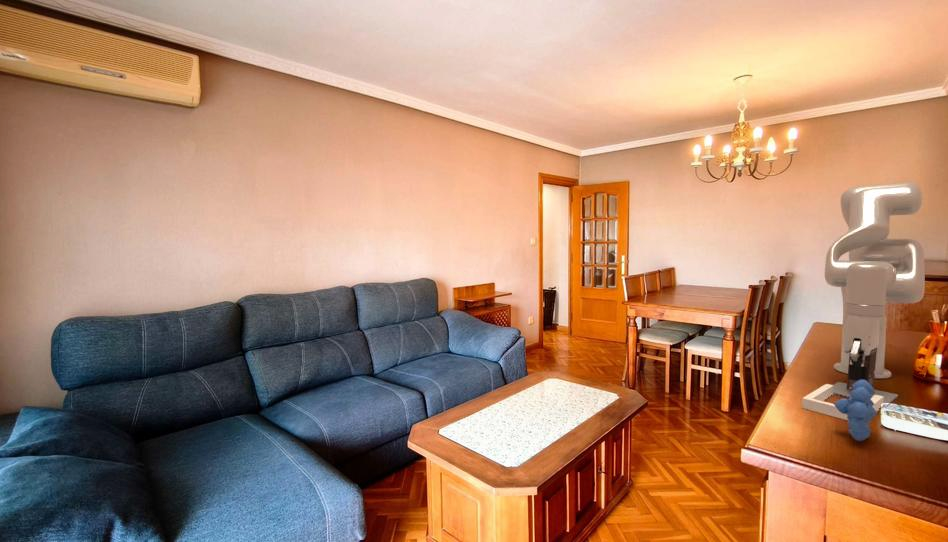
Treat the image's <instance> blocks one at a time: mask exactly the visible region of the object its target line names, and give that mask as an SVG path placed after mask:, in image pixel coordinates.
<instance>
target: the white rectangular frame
mask: <svg viewBox="0 0 948 542" xmlns="http://www.w3.org/2000/svg"><path fill="white" fill-rule="evenodd" d="M833 388H834V384H829V383H825V384H823V385H822V386H820V387H819V388H816V389H815V390H813V391H812V392H809V394H806V395H805V396H803V397H802V399H801V409H804V410H807V409H808V411H812V412H816V413H819V414H822V415H827V416H830V417H834V418H836V419H837V418H838V419H841V420H844V421H847V422H848V421H849V420H848V418H847V417H848V416H847V414H843V413H841V412H839V410H838V409H837V408H836V407H835V405H834V403H832V402H826V401H825V399H826V400H827V399H829V398H830V397H832V396H834V394H833ZM831 395H832V396H831ZM828 397H829V398H828ZM883 399H884V396H879V395H874V396H873V397H872V398H871V400H872V401H873V403H874V405H873V406H872V407H873V408H874V409H875V410H876V412H877V413H878V412H879V411H880V409H879V408H880V406H881V404H882V403H883Z"/></svg>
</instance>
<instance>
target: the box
mask: <svg viewBox="0 0 948 542" xmlns="http://www.w3.org/2000/svg"><path fill="white" fill-rule="evenodd" d="M850 350H852V347H851V349H850ZM850 353H851V351H850ZM863 353H864V352H859V354H863ZM876 354H877V347H876V348H875V349H873V350H871V352H870V355H868V356H866V363H865V367H867V372H866V381H867V382H868V383H869V384H870V385H871V386H872V387H873V389H875V386H874V385H875V378H874V377H875V365H876ZM850 358H851V356H850V354H849V366H850ZM860 358H861V361H862V357H860ZM849 366H848V374H847V379H846V384H847V390H849V391H852V390H854V389H853V386H852V385H853V384H854V383H855V382H857V381H856V380H851V379H849Z"/></svg>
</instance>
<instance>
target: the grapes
mask: <svg viewBox="0 0 948 542" xmlns="http://www.w3.org/2000/svg"><path fill="white" fill-rule="evenodd" d="M852 386H853V389H854V390H852V391H851V392H850V394H851V395H850V396H849V398H846V397H844V398H840V399H838V400H836V401H835V402H834V403H833V404H834V405H835V407H836V408H837V409H838V410H839V412H841V413H843V414H847V416H848V417H847V418H848V420H849V421H848V420H847V422H846V423H847V425H848V426H849V428H848V429H847V432H848V433H849V434H850V435H851V437H852V438H853V440H855V441H858V442H862V441H865V440H866V439H868V438H869V437H870V436H871V433H872V430H871V429H870V426H869V424H870V423H871V422H872V421H873V420H874V419H873V417H875V416H876V415H878V411H877V412H876V410H875V409H874V408H873V407H872V406H873V405H874V403H873V401H872V400H871V398H872V396H871V395H872V394H874V393H875V392H874V391H873V390H875V388H873V387H872V386H871V385H870V384H869V383H868V382H867V381H866V380H859V381H857V382H855V383H854V384H853V385H852Z"/></svg>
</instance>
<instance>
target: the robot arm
mask: <svg viewBox="0 0 948 542" xmlns="http://www.w3.org/2000/svg"><path fill="white" fill-rule="evenodd" d="M922 201H923V194H922V191H921V188H920V186H919V185H918V184H917V183H916V182H911V181H910V182H909V181H908V182H897V183H896V182H895V183H884V184H871V185H862V186H855V187H851V188H848V189H846V190H844V191H843V193H842V194H841V197H840V208H841V214H842V217H843V219H844V221H845V223H846V225H847V227H848V231H847V232H845V233H844V234H843V235H841V236H839V238H837V239H836V240H834V242H833V243H832V244H831V246H830V247H829V248H828V250H827V253H826V257H825V264H824V280H825V281H826V283H827V284H828V285H830V286H831V287H834V288H835V287H836V288H840V289H841V297H842V298H841V299H842V330H841V331H842V333H841V353H840V362H836V363H835V364H833V368H834V369H835V370H836V371H838V372H840V373H843V374H847V375H848V366H849V354H850V356H851V358H850V366H849V379H851V380H856V381H859V380H866V372H867V367H865V363H866V356H868V355H870V352H871V350H873V349H875V348H876V347H877V354H876V365H875V377H874V379H889V378H891V377H892V372H891V371H890V370H888V369H886V368H885V355H886V354H885V352H886V338H887V337H886V336H887V335H886V334H887V333H886V332H887V316H886V305H887V304H886V303H894V304H895V303H896V304H901V303H902V304H914V303H919V302H920V301H922V299H923V298H924V296H925V292H926V291H925V290H926V283H925V281H926V279H925V278H926V277H925V253H924V247H923V244H922V243H920V242H919V240H917V239H912V238H888V237H889V235H890V229H891V225H890V222H891V220H890V219H891V216H892V217H893V216H910V215H911V216H912V215H915V214H917V213H918V212H919V211H920V210H921V207H922V203H923V202H922ZM847 253H848V260H839V259H840V258H841V257H842V256H843V255H845V254H847ZM851 347H852V350H850V349H851ZM850 351H851V353H850ZM859 352H864V353H863V354H859ZM860 357H862V361H861V358H860Z"/></svg>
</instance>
